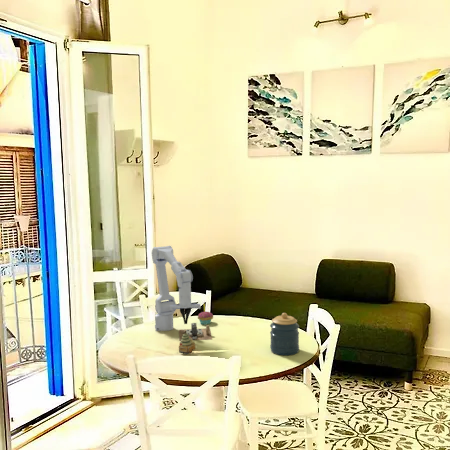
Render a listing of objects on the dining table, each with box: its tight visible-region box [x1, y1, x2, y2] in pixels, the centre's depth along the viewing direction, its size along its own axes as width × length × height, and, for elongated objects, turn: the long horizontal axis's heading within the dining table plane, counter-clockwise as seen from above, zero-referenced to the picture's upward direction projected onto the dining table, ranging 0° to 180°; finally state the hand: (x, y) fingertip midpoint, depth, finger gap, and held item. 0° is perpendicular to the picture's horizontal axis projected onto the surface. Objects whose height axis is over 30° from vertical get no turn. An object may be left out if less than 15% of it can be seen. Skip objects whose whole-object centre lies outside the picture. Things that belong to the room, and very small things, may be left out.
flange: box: [186, 326, 203, 339], centre depth 240 cm, size 12×8×6 cm, turn 6°
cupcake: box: [197, 303, 214, 325], centre depth 261 cm, size 9×8×12 cm
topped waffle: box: [178, 331, 196, 355], centre depth 221 cm, size 8×6×10 cm
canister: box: [269, 312, 300, 356], centre depth 219 cm, size 13×13×18 cm
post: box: [190, 322, 198, 332], centre depth 242 cm, size 3×3×6 cm
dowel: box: [205, 324, 210, 335], centre depth 241 cm, size 2×2×4 cm
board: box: [178, 327, 213, 342], centre depth 242 cm, size 16×18×1 cm
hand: (185, 323), depth 234 cm, fingers closed
